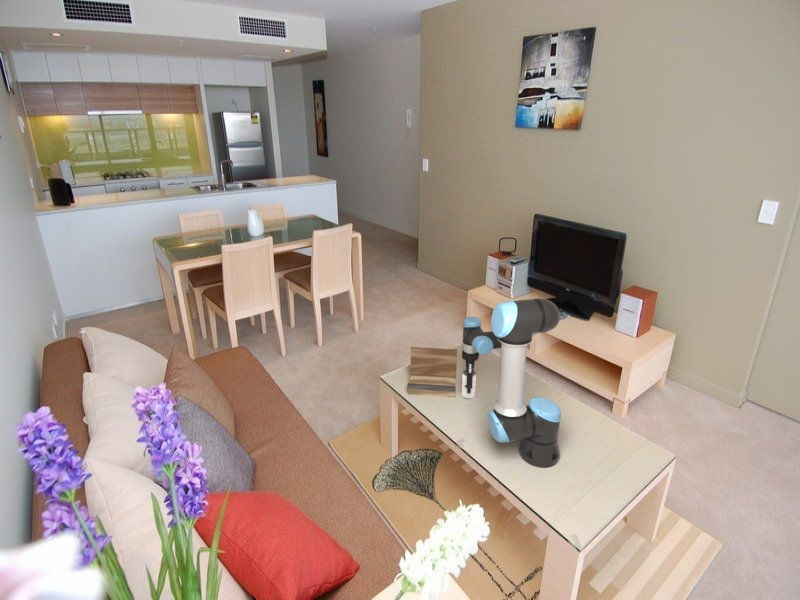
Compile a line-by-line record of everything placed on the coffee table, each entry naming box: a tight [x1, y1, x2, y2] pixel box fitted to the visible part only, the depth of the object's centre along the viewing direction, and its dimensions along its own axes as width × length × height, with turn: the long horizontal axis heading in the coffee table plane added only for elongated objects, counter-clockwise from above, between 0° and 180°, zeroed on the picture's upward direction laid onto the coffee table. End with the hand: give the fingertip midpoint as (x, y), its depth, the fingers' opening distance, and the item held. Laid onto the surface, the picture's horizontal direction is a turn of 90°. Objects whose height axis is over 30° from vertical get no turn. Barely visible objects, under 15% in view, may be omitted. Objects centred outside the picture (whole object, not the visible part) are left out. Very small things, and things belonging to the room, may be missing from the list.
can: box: [461, 369, 477, 400], centre depth 213 cm, size 6×6×12 cm
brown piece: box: [407, 346, 458, 398], centre depth 218 cm, size 13×22×18 cm, turn 83°
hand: (468, 393), depth 215 cm, fingers closed on can, 6 cm apart
